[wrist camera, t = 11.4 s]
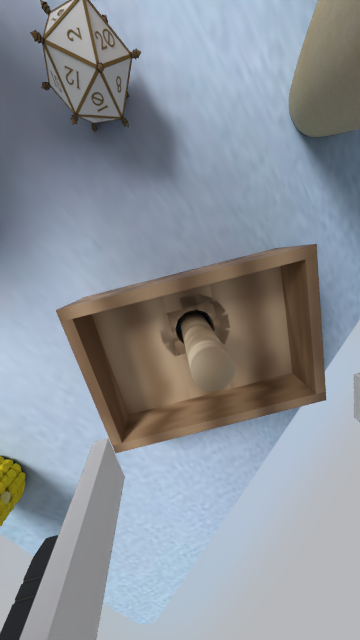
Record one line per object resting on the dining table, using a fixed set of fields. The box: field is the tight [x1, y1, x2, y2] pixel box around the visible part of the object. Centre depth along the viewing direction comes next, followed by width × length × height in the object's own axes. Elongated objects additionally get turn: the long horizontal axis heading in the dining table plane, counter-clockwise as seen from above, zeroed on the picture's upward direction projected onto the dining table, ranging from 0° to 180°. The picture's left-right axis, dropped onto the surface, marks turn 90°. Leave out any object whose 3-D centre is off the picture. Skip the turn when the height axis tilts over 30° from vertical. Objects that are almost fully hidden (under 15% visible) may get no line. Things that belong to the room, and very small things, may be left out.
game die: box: [30, 0, 141, 132], centre depth 20 cm, size 9×8×10 cm
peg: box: [180, 311, 235, 391], centre depth 24 cm, size 4×4×14 cm
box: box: [56, 244, 326, 453], centre depth 28 cm, size 26×18×8 cm
